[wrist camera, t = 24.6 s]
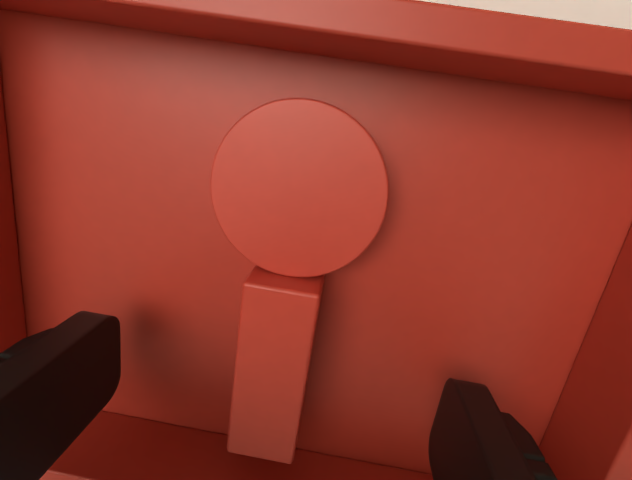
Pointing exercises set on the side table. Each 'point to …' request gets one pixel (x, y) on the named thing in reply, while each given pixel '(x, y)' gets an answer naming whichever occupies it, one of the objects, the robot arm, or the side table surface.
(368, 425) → the red tray
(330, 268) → the red spoon
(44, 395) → the robot arm
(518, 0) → the side table surface
